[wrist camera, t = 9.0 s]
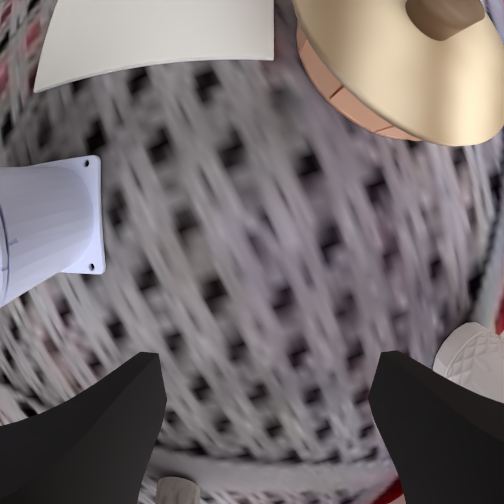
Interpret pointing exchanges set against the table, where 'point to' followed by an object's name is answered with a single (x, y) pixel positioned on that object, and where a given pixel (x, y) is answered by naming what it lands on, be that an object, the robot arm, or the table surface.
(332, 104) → the terracotta bowl
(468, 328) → the white cup
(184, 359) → the table surface
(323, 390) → the table surface
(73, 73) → the white square mat
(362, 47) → the oak lid
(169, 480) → the decorative mushroom
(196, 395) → the table surface
